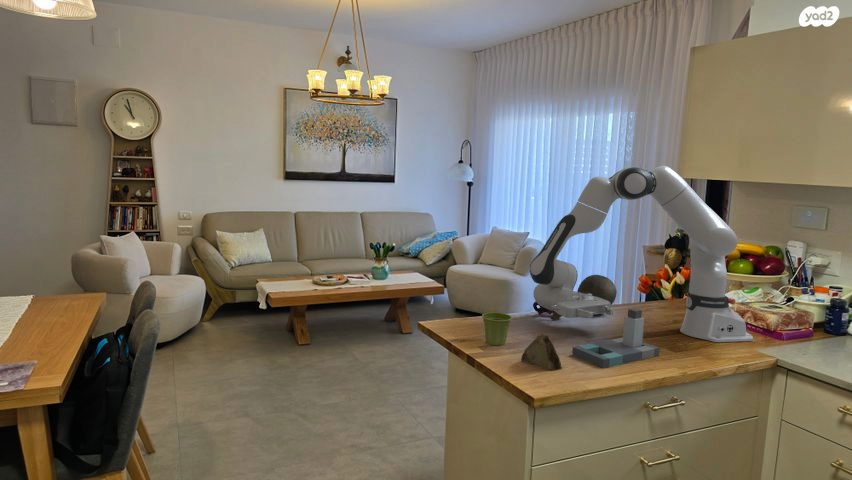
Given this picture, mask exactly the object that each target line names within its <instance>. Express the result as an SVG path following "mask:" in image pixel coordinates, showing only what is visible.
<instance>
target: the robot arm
mask: <svg viewBox="0 0 852 480" xmlns="http://www.w3.org/2000/svg"><path fill="white" fill-rule="evenodd" d="M646 196H651V197H652V198H653V199H654V200H655V201H656V202H657V203H658V205H659V206H660V207H661V209H663V211H665V212H666V213H667V215H668V216H669V217H670V218H671V219H672V220H673V222H674V223H675V224H676V225H677V226H679V227H680V228H681V230H683V232H684V233H685V234H687V235H688V237H689V239H690V243H689V245H690V246H689V248H690V250H689V252H690V253H689V254H690V278H689V286H688V287H689V289H688V292H687V296H686V302H685V303H686V304H685V305H686V306H685V307H686V310H685V311H686V312H685V315H684V319H683V322H682V325H681V326H680V329H679V331H680V333H682V334H683V335H686V336H689V337H692V338H697V339H700V340H701V339H702V340H706V341H710V342H713V343H726V342H727V343H729V342H730V343H731V342H732V343H733V342H735V343H736V342H752V341H754V337H753V335H752V334H751V333H749V332H747V326H746V321H745V319H744V318H742V316H740V315H739V314H738V313H737V312H736V311H735V310H733V309H732V308H731V307H730V305H732V306H734V305H735V304H736V303H737V300H736V299H735V298H733V297H728V296H727V295H726V287H727V278H728V272H727V270H728V269H727V267H726V265H727V264H726V257H727V256H728V255H729V256H730V255H731V254H732V253H733V252H734V251H735V250H736V249H737V246H738V237H737V234H736V233H735V231H734V230H733V229H732V228H731V227H730V226H729V225H728V224H727V223H726V222H725V221H724V219H722V218H721V217H720V216H719V215H718V214H717V213H716V212H715V211H714V210H713V209H712V208H711V207H709V205H707V203H706V202H705V201H703V200H702V198H701V197H700V196H699V195H698V194H697V193H696V192H695V190H694V189H693V188H692V187H691V186H690V184H689V183H687V181H686V180H685V179H684V178H682V176H681V175H680V174H678V173H677V172H676V171H675V170H673V169H672V168H671V167H670V166H667V165H659V166H657V167H655V168H653V169H651V170H650V171H649V170H646V169H643V168H641V167H631V166H630V167H625V168H623V169H621V170H618V171H617V172H616V173H615V174H613V175H612V176H610V177H609V178H607V177H603V176H595V177H592V178H590V180H589V181H588V183H586V185H585V186H584V189H583V190H582V192H581V193H580V195H579V197H578V199H577V202H576V203H575V205H574V207H573V209H571V211H570V212H568V214H567V215H564V216H563V217H562V218H561V219H560V220H559V222H558V223H557V224H556V226H555V227H554V229H553V230H552V232H551V233H550V235H549V237H548V239H547V240H546V242H545V244H544V245H543V247H542V248H541V250H540V251H539V253H537V255H536V256H535V257H534V259H532V261H531V263H530V265H529V273H530V278H531V279H532V281H533V282H534V283H536V285H535V287H534V289H533V291H532V292H533V294H532V295H533V299H534V302H537V303H538V304H539V305H540V306H542V307H544V308H546V309H549V310H551V311H555V312H556V313H557V314H559V315H561V316H562V317H563V318H567V319H572V318H573V319H574V318H579V317H582V318H588V319H590V318H594V315H601V314H602V315H603V314H606V315H609V316H612V315H614V313H615V312H614V309H612V308H611V306H612V305H611V303H610V302H609V301H607V300H604V299H602V298H599V297H595V296H592V294H590V293H579V292H577V291H574V289H575V287H576V284H577V282H578V277H579V276H578V270H577V268H576V266H575V265H574V264H572V263H570V262H566V261H564V260H560V259H558V256H559V255H560V253H561V252H562V250H563V249H564V247H565V245H566V244H567V242H568V240H570V239H571V238H572V237H574V236H577V235H581V234H588V233H589V234H590V233H592V232H595V231H597V230H599V229H600V227H602V225H603V223H604V222H605V219H606V217H607V215H608V214H609V211H610V209H611V206H612V205H613V203H614V202H615V201H617V200H618V199H623V200H628V201H632V200H633V201H634V200H638V199H641V198H644V197H646ZM539 305H538V306H539ZM540 306H539V307H540Z"/></svg>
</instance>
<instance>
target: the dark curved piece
mask: <svg viewBox="0 0 852 480" xmlns="http://www.w3.org/2000/svg"><path fill="white" fill-rule="evenodd" d="M538 306H539V307H538ZM532 307H533V310H534V311H535V312H537V313H538V315H539V316H541V315H542V314H544V313H545V314H550V315H551V316H550V319H551V320H552V321H555V320H557V319H560V318H562V317H563V316H561V315H559V314H557V313H556V311H551V310H549V309H546V308H544V307H542V306H540V305H539V304H538V303H537V302H536V301H534V302H533V304H532Z"/></svg>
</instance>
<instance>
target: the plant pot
mask: <svg viewBox="0 0 852 480" xmlns="http://www.w3.org/2000/svg"><path fill="white" fill-rule="evenodd" d="M481 317H482V319H483V323H484V334H485V335H484V337H485V342H486V344H488V345H491V346H498V345H500V346H504V345H505V344H506V341H507V335H508V330H509V326H510V323H511V321H512V319H513V317H512V316H511V315H510V314H507V313H503V312H500V311H499V312H494V311H491V312H485V313H482V315H481Z"/></svg>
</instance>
